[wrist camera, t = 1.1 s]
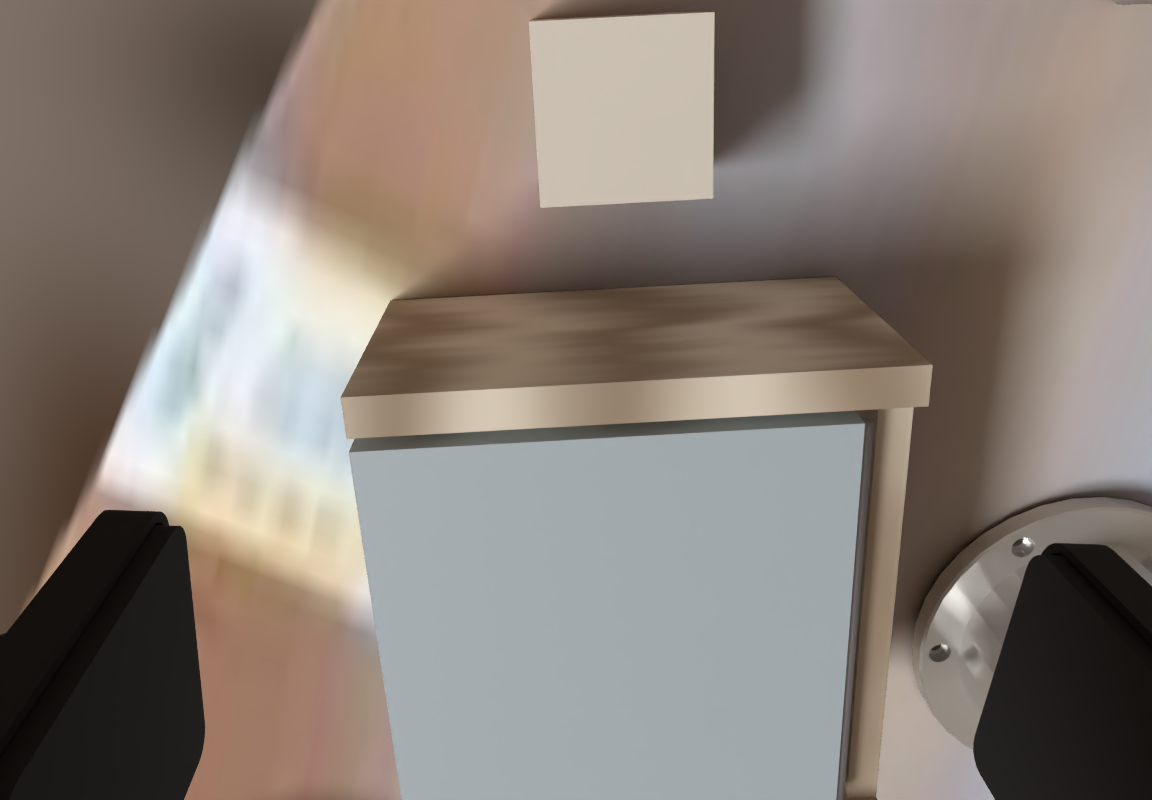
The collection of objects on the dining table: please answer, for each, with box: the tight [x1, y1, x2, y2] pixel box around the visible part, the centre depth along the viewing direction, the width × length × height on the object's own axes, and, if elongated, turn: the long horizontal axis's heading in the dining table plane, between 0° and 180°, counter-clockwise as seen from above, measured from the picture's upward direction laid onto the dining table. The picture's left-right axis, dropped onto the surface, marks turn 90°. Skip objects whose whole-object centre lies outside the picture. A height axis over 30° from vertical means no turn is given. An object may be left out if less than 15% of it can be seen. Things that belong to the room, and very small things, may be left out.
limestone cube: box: [529, 12, 715, 208], centre depth 29 cm, size 5×5×5 cm
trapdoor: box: [349, 411, 874, 800], centre depth 29 cm, size 14×14×1 cm
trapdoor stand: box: [341, 277, 933, 800], centre depth 33 cm, size 16×17×9 cm
